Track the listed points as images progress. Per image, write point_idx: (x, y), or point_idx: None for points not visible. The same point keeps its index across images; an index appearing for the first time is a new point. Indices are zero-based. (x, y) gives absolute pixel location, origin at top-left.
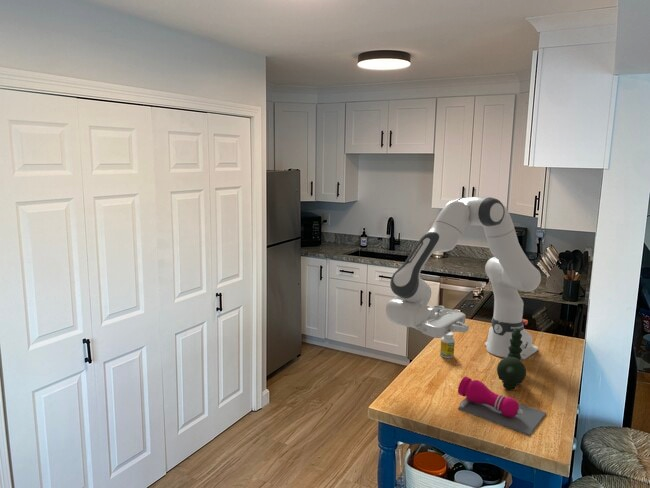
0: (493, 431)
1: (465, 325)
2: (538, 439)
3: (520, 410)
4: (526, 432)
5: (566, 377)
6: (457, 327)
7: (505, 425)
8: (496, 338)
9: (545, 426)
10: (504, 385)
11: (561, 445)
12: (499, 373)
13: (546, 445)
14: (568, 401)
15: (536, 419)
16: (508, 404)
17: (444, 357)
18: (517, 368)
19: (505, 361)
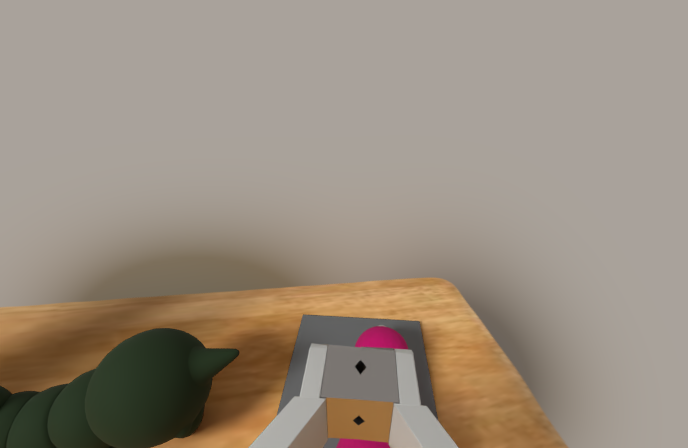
0: (473, 387)
1: (333, 364)
2: (416, 311)
3: (385, 326)
4: (418, 326)
5: (71, 315)
6: (447, 444)
7: (427, 368)
8: None
9: (357, 310)
10: (195, 426)
11: (403, 284)
12: (181, 422)
13: (424, 299)
14: (218, 297)
15: (348, 322)
16: (403, 340)
17: None
18: (193, 340)
19: (157, 374)
